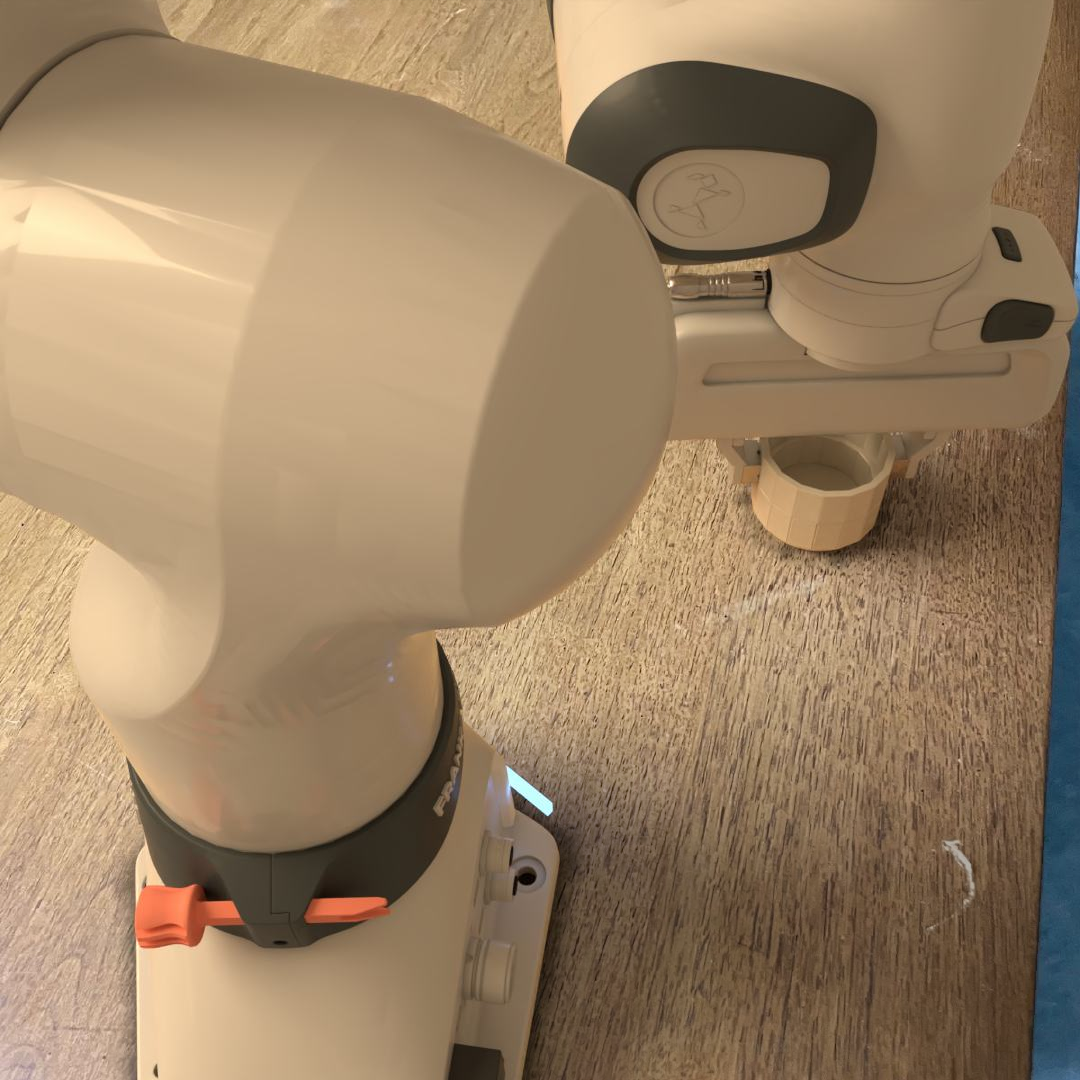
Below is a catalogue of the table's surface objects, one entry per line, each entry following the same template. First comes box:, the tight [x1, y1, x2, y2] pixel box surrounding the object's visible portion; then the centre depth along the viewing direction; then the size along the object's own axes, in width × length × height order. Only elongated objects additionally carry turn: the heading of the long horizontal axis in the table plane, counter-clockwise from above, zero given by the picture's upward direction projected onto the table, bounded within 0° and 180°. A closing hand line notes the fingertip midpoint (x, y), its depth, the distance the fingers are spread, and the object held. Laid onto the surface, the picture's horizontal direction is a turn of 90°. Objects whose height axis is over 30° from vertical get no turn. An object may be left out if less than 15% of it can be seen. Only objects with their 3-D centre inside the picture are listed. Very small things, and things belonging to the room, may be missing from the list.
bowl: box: [750, 433, 896, 552], centre depth 64 cm, size 7×7×5 cm
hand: (820, 472), depth 65 cm, fingers closed on bowl, 7 cm apart
